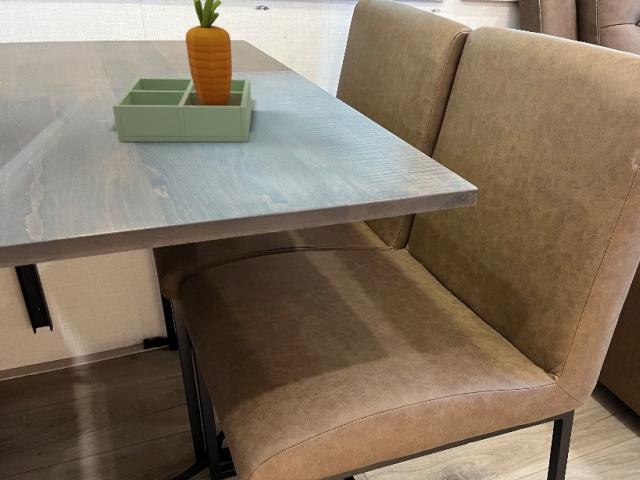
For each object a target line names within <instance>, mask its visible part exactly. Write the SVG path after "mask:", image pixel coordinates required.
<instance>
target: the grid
mask: <svg viewBox="0 0 640 480" xmlns="http://www.w3.org/2000/svg"><path fill="white" fill-rule="evenodd" d="M252 104H253V103H252V91H251V80H250V79H248V78H247V79H246V78H245V79H243V78H232V79H231V90H230V98H229V102H228V106H201V104H200V102H199V99H198V96H197V93H196V90H195V87H194V83H193V79H192V77H191V78H188V77H187V78H186V77H184V78H183V77H181V78H180V77H135V79H134V80H133V81H132V83H131V84H130V85H129V86H128V87H127V89H126V90H125V91H124V92H123V94H121V96H120V97H119V98H118V99H117V101H116V102H115V103H114V104H113V105H112V110H113V115H114V121H115V126H116V131H117V138H118V142H119V143H120V142H121V143H122V142H124V143H134V142H135V143H138V142H141V143H145V142H146V143H147V142H148V143H149V142H151V143H152V142H153V143H156V142H157V143H159V142H161V143H162V142H163V143H165V142H166V143H172V142H173V143H176V142H177V143H179V142H181V143H183V142H185V143H188V142H189V143H190V142H191V143H200V142H201V143H202V142H204V143H205V142H206V143H209V142H210V143H214V142H215V143H217V142H218V143H221V142H224V143H225V142H227V143H228V142H229V143H231V142H235V143H236V142H237V143H238V142H239V143H241V142H242V143H243V142H244V143H246V142H247V143H248V142H249V136H250V135H249V134H250V126H251V120H252V111H253V106H252Z"/></svg>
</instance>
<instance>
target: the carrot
mask: <svg viewBox="0 0 640 480" xmlns="http://www.w3.org/2000/svg"><path fill="white" fill-rule="evenodd" d="M221 4H222V1H221V0H205V1H204V5H203V4H202V0H193V5H194V6H193V7H194V11H195V13H196V17H197V19H198V21H199V24H200V25H196V26H193V27H191V28H189V29H188V31H187V32H186V33H185V44H186V51H187V58H188V64H189V70H190V75H191V79H193V83H194V87H195V90H196V93H197V96H198V99H199V102H200V104H201V106H228V102H229V98H230V90H231V79H233V78H232V77H233V71H232V70H233V66H232V65H233V63H232V43H231V42H232V41H231V36H230V33H229V32H228V31H227V30H226V29H225V28H223V27H220V26H216V25H213V24H214V23H215V21H216V20H217V18H218V17H219V16H220V13H219V12H215V11H216V10H217V8H218V7H220V5H221Z"/></svg>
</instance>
